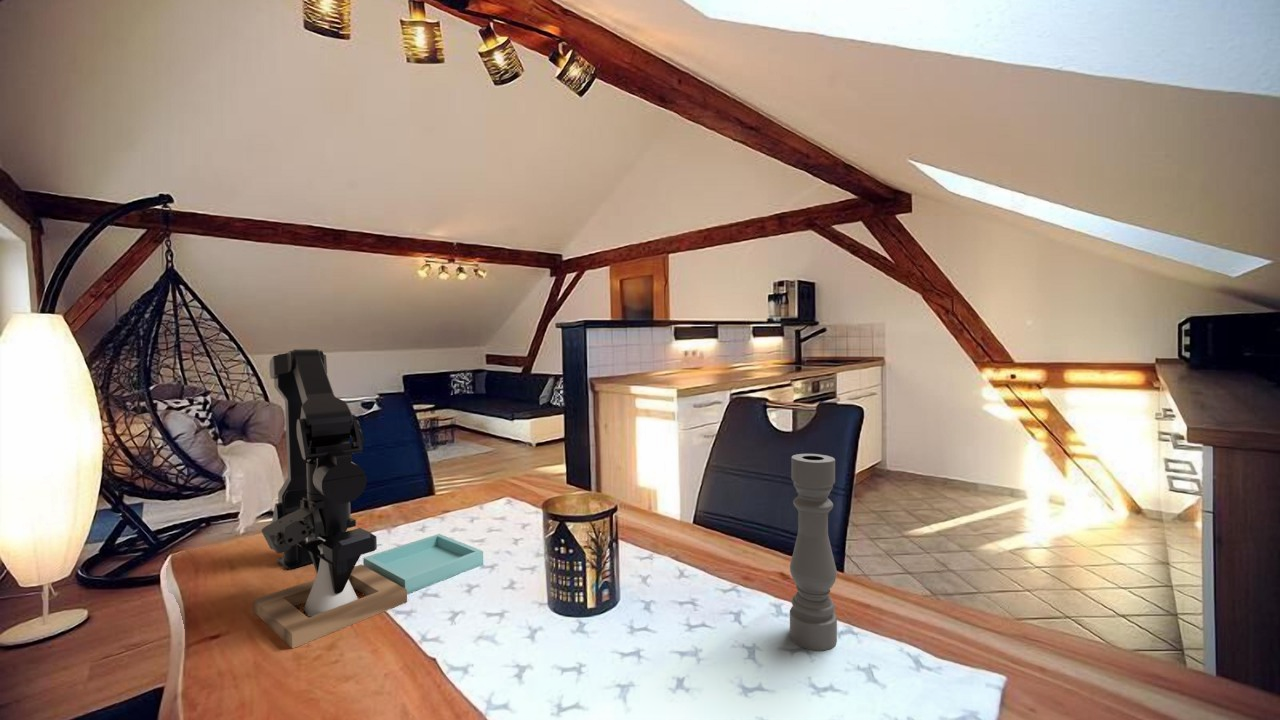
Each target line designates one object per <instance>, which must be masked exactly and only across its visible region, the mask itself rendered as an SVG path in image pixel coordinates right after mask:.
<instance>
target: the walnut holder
mask: <svg viewBox="0 0 1280 720" xmlns="http://www.w3.org/2000/svg"><path fill="white" fill-rule="evenodd" d="M314 581H315V579H311V580H309V581H306V582H302V583H300V584H297V585H293V586H291V587H288V588H284V589H281V590H279V591H275V592H272V593H268V594H266V595H265V594H264V595H263V596H259V597H257V598H253V612H254V614H255V615H256V616H257V617H259V618H260V619H261V620H262V621H263V622H264V623H265V624H266V625H267V626H268V627H269V628H270V629H271V630H272V631H273V632H274V633H275V634H277V636H278V637H280V639H282V640H283V642H284V643H286V644H287V645H288V646H289V647H290V648H291V649H296V648H297V647H300V646H302V645H305V644H307V643H310V642H312V641H315V640H317V639H320V638H322V637H325V636H327V635H330V634H333V633H334V632H337V631H339V630H342V629H344V628H347V627H349V626H351V625H355V624H357V623H359V622H361V621H364V620H368V619H369V618H371V617H374V616H376V615H378V614H381V613H384V612H386V611H388V610H391V609H393V608H395V607H396V608H397V607H399V606H401V605H403V604H406V603H408V594H407V589H405V588H403V587H401V586H399V585H398V584H396V583H394V582H392V581H390V580H389V579H387V578H385V577H383V576H381V575H380V574H378V573H376V572H374V571H372V570H371V569H369V568H367V567H365V566H363V564H358V565H355V567H354V569H353V571H352V573H351V575H350V577H349V581H350V583H351V586H352V588H353V589H354V590H357V591H358V592H359V593H361V594H363V595H364V596H363V597H361V598H358V599H357V600H355V601H352V602H349V603H347V604H344V605H341V606H339V607H336V608H333V609H331V610H328V611H325V612H323V613H320V614H317V615H315V616H308V615H305V614H304V613H303V612H302V611H300V610H299V608H297V606H299V605H302V604H306V602H307V599H308V597H309V594H310V592H311V589H312V587H313V584H314Z"/></svg>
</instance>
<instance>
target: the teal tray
mask: <svg viewBox="0 0 1280 720" xmlns="http://www.w3.org/2000/svg"><path fill="white" fill-rule="evenodd" d="M362 559H363V560H362V561H363V564H362V565H363V566H365V567H367V568H369V569H371V570H372V571H374V572H376V573H378V574H380V575H381V576H383V577H385V578H387V579H389V580H390V581H392V582H394V583H396V584H398V585H399V586H401V587H403V588H405V589H407V595H408V594H412V593H414V592H417V591H420V590H422V589H424V588H426V587H427V588H428V587H429V586H432V585H434V584H437V583H440V582H443V581H444V580H447V579H450V578H452V577H455V576H457V575H460V574H462V573H465V572H467V571H470V570H472V569H475V568H478V567H480V566H482V565H484V551H483V550H482V549H480V548H476V547H474V546H471V545H468V544H466V543H465V542H461V541H459V540H456V539H454V538H452V537H448V536H447V535H443V534H441V533H438V534H434V535H430V536H428V537H425V538H422V539H421V538H420V539H418V540H415V541H412V542H409V543H405V544H402V545H399V546H397V547H393V548H390V549H386V550H384V551H380V552H377V553H374V554H371V555H368V556H365V557H363V558H362Z"/></svg>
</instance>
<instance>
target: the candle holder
mask: <svg viewBox="0 0 1280 720" xmlns="http://www.w3.org/2000/svg"><path fill="white" fill-rule="evenodd" d="M790 461H791V467H790V471H791V473H790V474H791V475H790V476H791V479H790V480H792V482H793V483H792V485H793V486H794V488H795V491H796V493H797V494H798V495H797V496H796V497H795V498H794V499H793V500H792V503H793V506H794V508H796V510H797V511H798V515H797V517H798V518H797V520H798V521H797V522H798V523H797V524H798V525H797V526H798V527H797V528H798V529H797V535H796V539H795V542H794V548H793V553H792V557H791V560H790V564H789V572H790V575H791V578H792V579H793V582H794V583H795V587H796V590H797V591H796V592H795V594H794V595H793V596H792V598H791V604H792V606H791V608H790V610H789V636H790V639H791V641H793V642H794V643H795V644H796V645H798V646H800V647H802V648H804V649H807V650H811V651H819V652H820V651H827V650H832V649H833V648H835V647H836V645H837V643H838V616H837V615H836V613H835V609H836V606H835V603H834V601H833V600H832V598H831V596H829V595H830V593H831V589H832V588H833V586H834V584H835V583H836V580H837V576H838V574H837V572H838V571H837V566H836V562H835V557H834V554H833V550H832V545H831V541H830V537H829V520H828V519H829V513H830V511H832V510H833V509H834V503H833V502H832V500H831V499H830V498H828V497H829V496H830V494H831V491H832V490H833V489H834V486H833V485H834V484H835V483H836V459H835V458H834V457H833V456H829V455H825V454H819V453H799V454H798V453H796V454H794V455H792V456H791V459H790Z"/></svg>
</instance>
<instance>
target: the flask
mask: <svg viewBox="0 0 1280 720" xmlns="http://www.w3.org/2000/svg"><path fill="white" fill-rule="evenodd" d="M318 549H319V550H320V554H323V543H322V544H320V545H318ZM314 580H315V581H314V584H313V587H312V589H311V592H310V594H309V597H308V599H307V602H305V603H304V604H305V605H304V607H303V610H304V612H305V614H306V616H307V617H312V616H315V615H317V614H320V613H323V612H325V611H328V610H331V609H333V608H336V607H339V606H341V605H344V604H347V603H349V602H352V601H355V600H357V599H359V598H358V596H357V594H356V592H355V589H354V588H353V587H352V586H351V583H350V581H349V579H348V581H347V583H346V585H345V588H344V590H343V591H342V592H341V593H338V594H335V593H334V590H333V586H332V581H331V576H330V571H329V565H328V563H327V562H326V561H324V560H323V559H321V558H320V563H319V569H318V572H317V573H316V576H315V578H314Z"/></svg>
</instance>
